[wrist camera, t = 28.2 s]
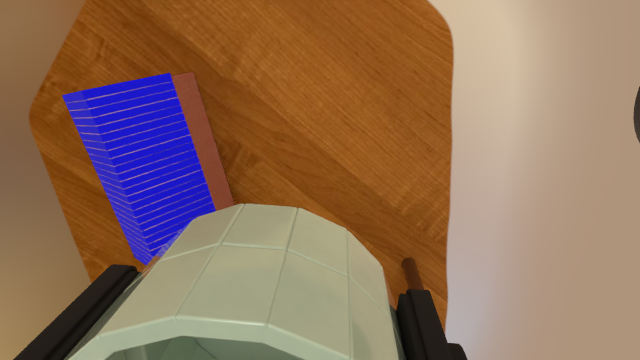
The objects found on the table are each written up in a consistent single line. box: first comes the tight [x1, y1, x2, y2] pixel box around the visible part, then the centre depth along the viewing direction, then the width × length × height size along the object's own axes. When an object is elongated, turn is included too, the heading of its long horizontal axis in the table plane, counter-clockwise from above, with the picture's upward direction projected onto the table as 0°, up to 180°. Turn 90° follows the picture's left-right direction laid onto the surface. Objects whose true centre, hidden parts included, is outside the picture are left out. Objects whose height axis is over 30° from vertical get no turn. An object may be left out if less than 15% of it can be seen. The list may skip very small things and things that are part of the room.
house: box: [62, 72, 235, 265], centre depth 40 cm, size 12×20×12 cm, turn 11°
